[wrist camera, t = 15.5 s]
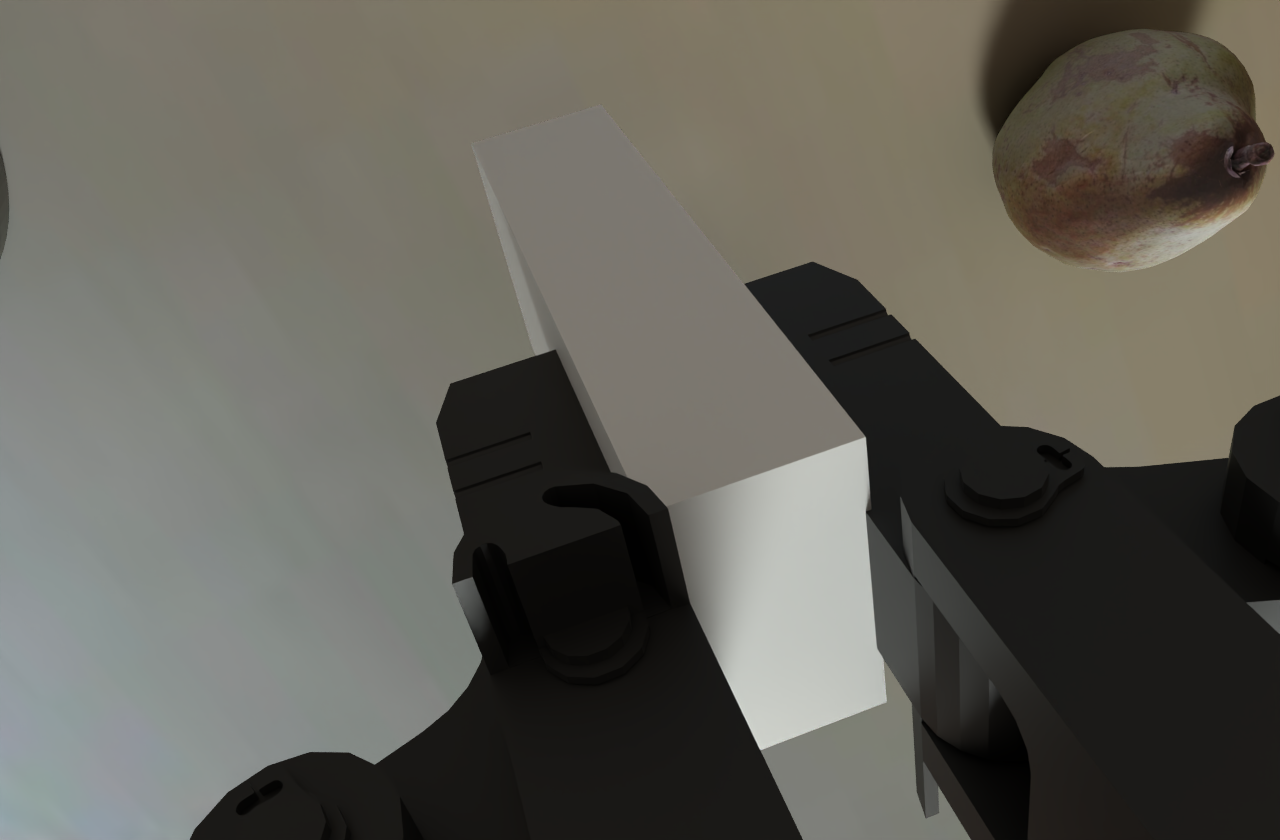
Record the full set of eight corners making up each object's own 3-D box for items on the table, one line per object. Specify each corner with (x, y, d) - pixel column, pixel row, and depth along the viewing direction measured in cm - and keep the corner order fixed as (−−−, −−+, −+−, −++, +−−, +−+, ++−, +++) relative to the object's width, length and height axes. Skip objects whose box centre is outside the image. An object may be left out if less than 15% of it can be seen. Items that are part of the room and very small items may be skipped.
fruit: (1134, -44, 45) (1365, 35, 36) (1188, 129, 51) (1400, 236, 42) (926, 111, 47) (1097, 227, 37) (1001, 262, 52) (1166, 397, 43)
